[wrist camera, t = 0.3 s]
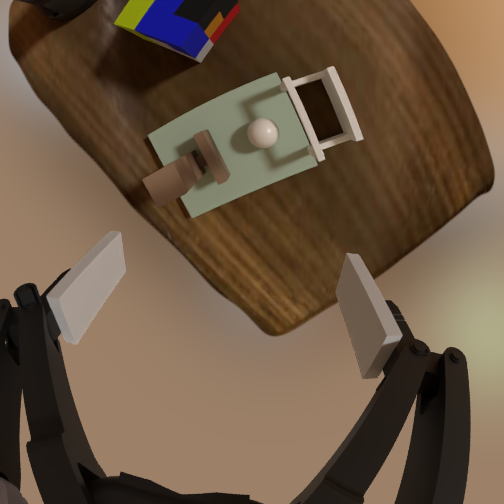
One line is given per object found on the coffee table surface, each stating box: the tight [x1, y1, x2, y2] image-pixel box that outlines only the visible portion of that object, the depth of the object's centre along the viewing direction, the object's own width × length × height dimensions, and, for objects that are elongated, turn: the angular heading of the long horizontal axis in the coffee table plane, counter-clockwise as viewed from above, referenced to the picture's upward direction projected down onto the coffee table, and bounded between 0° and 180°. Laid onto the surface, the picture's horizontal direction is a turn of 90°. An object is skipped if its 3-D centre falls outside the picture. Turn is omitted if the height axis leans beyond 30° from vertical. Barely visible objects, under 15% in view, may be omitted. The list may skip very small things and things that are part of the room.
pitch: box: [148, 66, 363, 218], centre depth 32 cm, size 14×26×8 cm, turn 114°
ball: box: [247, 118, 279, 148], centre depth 32 cm, size 4×4×4 cm
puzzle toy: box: [114, 0, 240, 63], centre depth 23 cm, size 10×10×10 cm
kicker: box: [142, 129, 231, 208], centre depth 31 cm, size 7×6×11 cm
